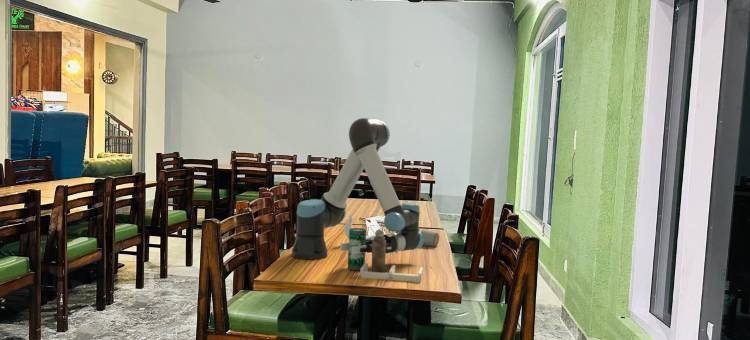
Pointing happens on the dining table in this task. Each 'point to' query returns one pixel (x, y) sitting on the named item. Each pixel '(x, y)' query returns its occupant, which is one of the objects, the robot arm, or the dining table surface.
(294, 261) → the dining table surface
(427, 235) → the ceramic mug
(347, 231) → the white curved horn
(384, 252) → the pepper mill
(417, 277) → the caddy
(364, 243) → the can
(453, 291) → the dining table surface
